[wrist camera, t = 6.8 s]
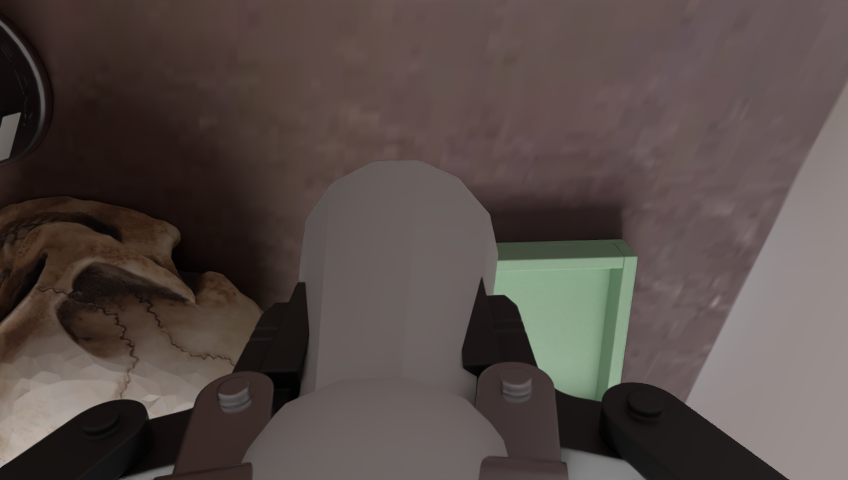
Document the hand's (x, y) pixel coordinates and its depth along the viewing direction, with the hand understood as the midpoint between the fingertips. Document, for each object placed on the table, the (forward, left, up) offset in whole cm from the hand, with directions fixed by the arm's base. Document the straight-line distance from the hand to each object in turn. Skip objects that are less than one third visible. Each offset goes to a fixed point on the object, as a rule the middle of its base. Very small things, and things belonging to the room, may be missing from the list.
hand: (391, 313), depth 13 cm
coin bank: (-18, -10, -20) cm, 29 cm away
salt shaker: (0, 0, -6) cm, 6 cm away
